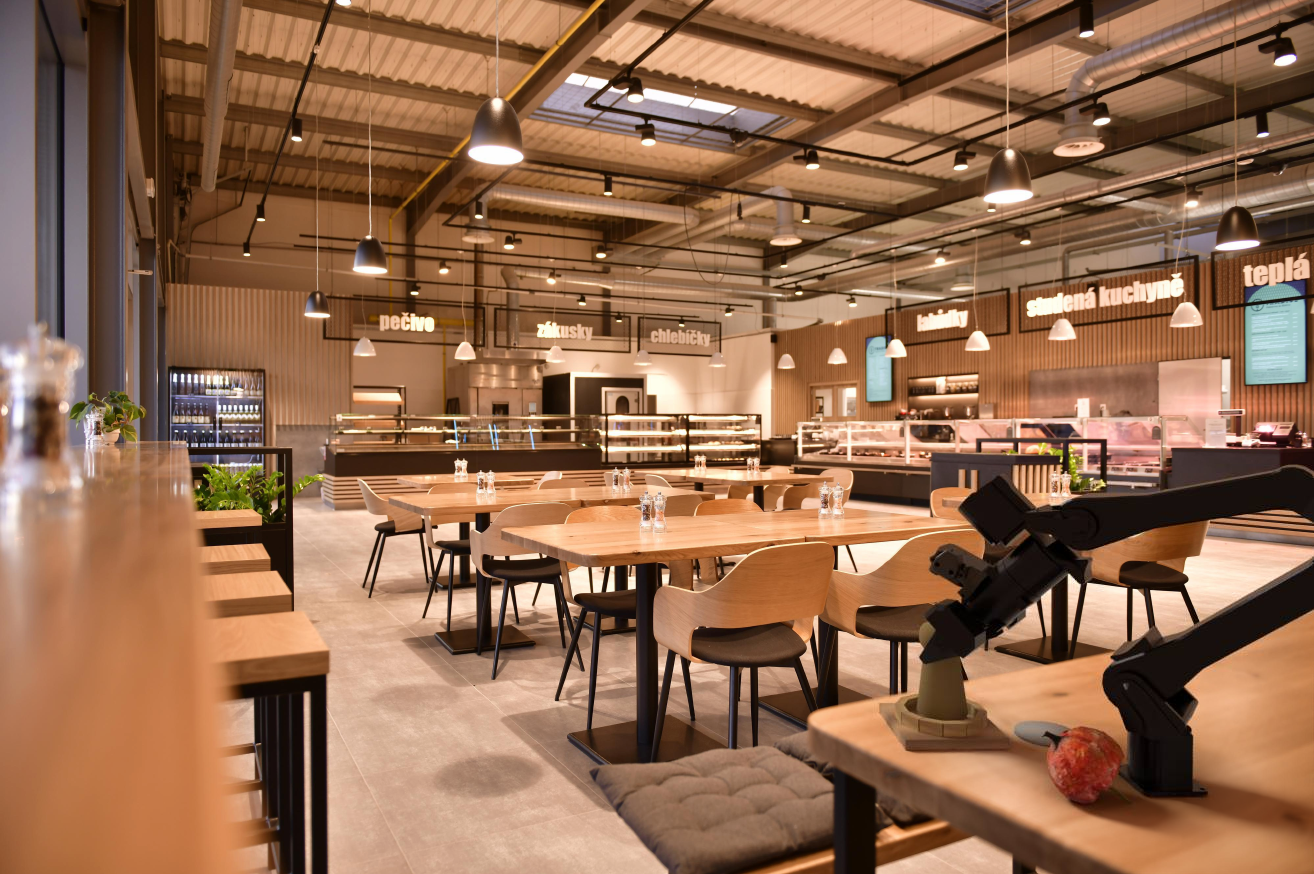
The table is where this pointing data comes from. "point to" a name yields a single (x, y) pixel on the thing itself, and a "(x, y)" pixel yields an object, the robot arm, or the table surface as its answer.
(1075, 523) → the robot arm
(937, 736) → the hub board
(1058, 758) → the pomegranate
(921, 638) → the olive green peg
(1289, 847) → the table surface
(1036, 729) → the grey coaster
